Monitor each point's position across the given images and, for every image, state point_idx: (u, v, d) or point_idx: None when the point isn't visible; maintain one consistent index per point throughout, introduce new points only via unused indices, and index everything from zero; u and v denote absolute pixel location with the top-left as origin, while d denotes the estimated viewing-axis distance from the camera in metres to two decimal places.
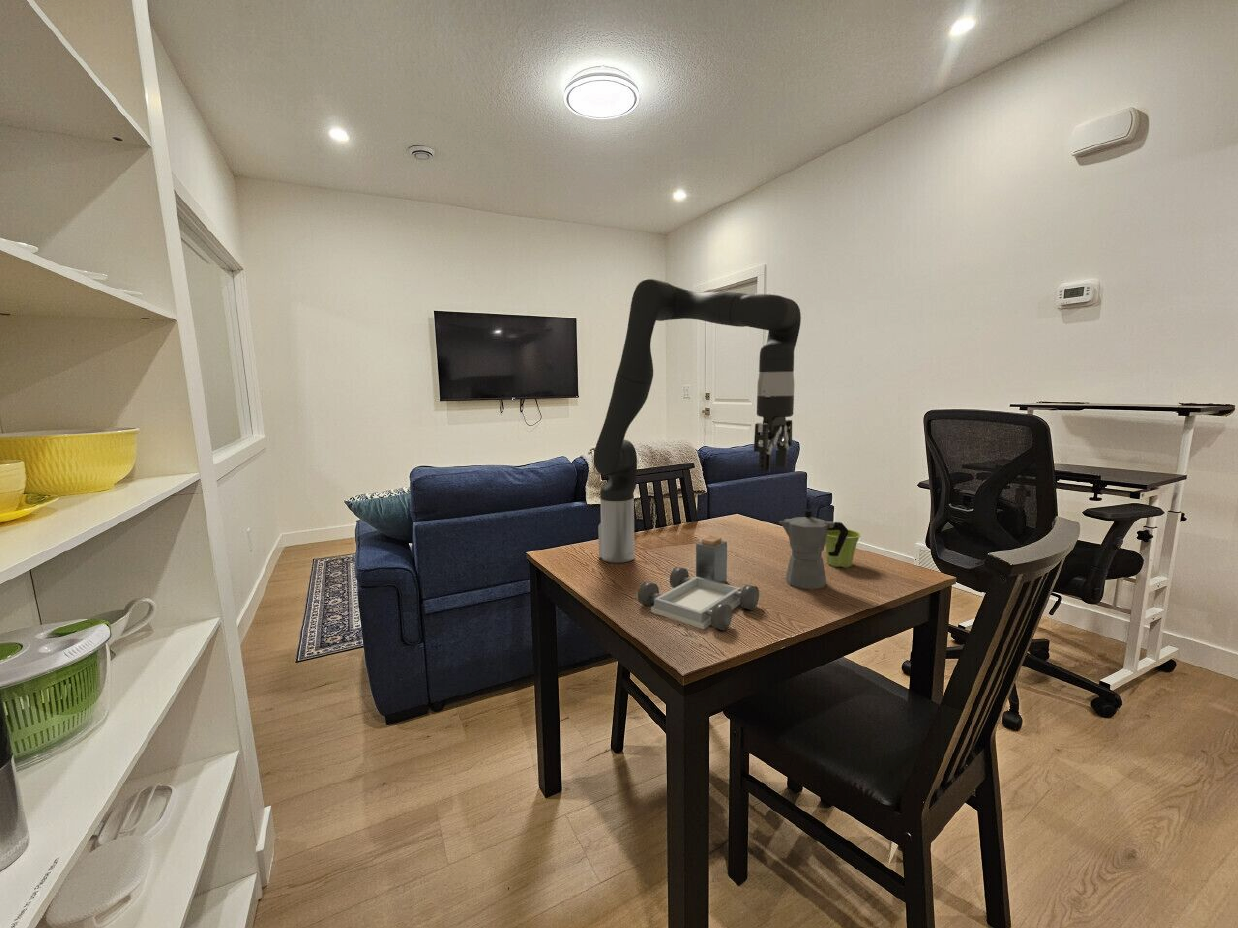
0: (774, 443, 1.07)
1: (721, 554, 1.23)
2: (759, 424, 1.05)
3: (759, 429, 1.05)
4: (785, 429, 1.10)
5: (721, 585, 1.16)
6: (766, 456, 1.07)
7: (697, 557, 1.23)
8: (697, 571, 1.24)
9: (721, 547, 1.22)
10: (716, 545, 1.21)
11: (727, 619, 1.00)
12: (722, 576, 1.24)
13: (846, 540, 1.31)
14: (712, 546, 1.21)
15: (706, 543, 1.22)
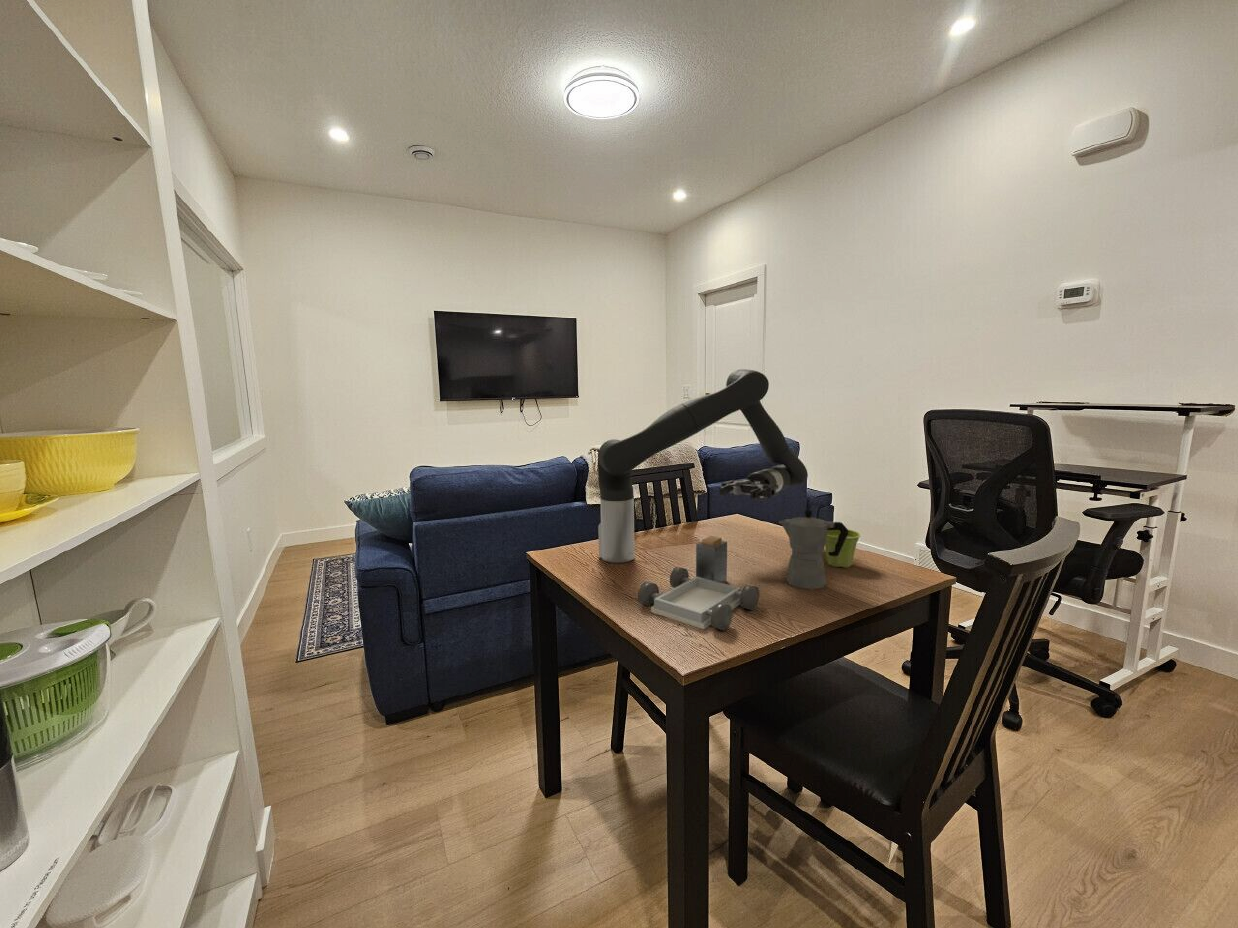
0: None
1: (721, 554, 1.23)
2: (778, 488, 1.34)
3: (777, 489, 1.33)
4: None
5: (721, 585, 1.16)
6: (760, 495, 1.30)
7: (697, 557, 1.23)
8: (697, 571, 1.24)
9: (722, 547, 1.22)
10: (716, 545, 1.21)
11: (727, 619, 1.00)
12: (722, 576, 1.24)
13: (846, 540, 1.31)
14: (712, 546, 1.21)
15: (706, 543, 1.22)
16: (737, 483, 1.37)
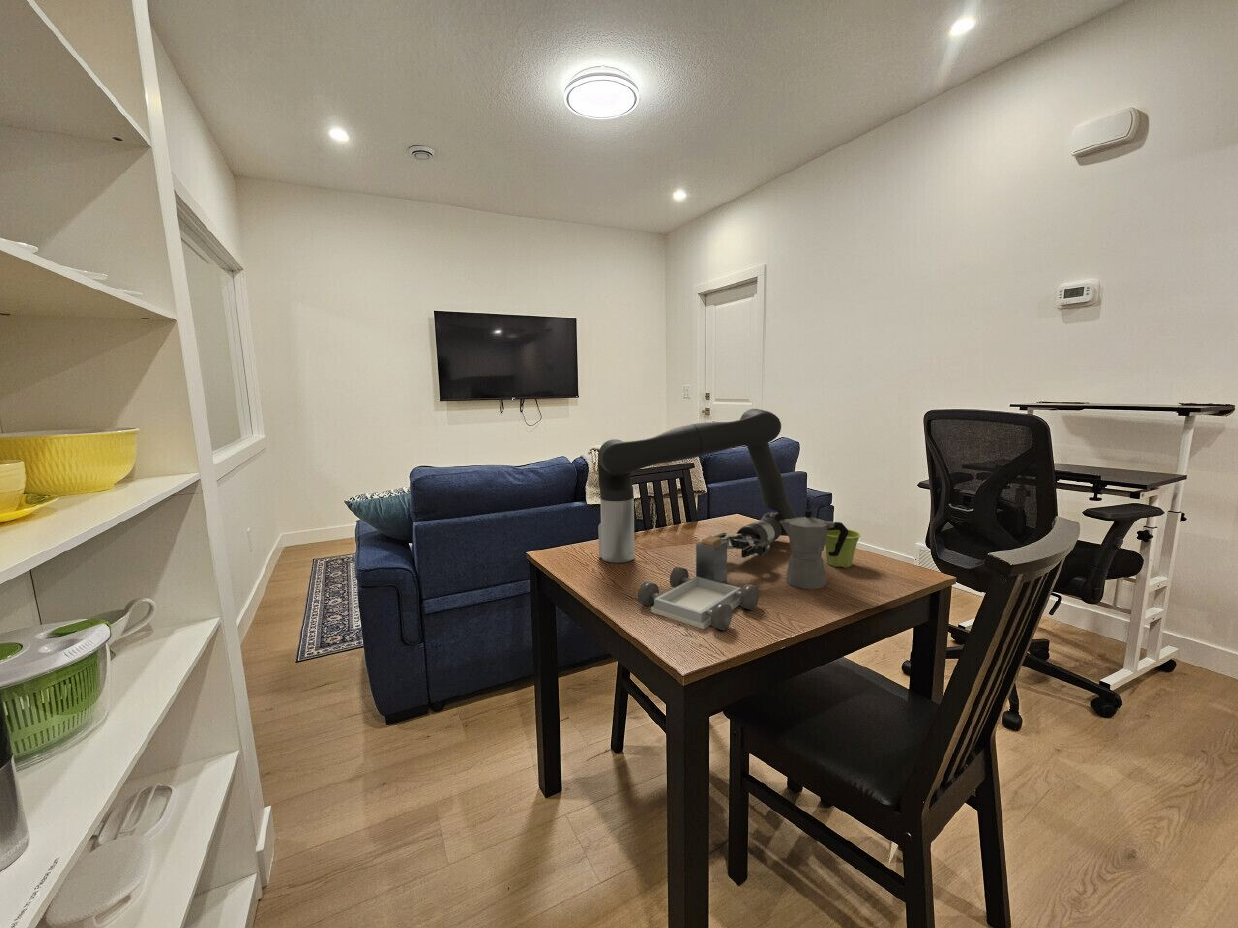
0: None
1: (721, 554, 1.23)
2: (769, 544, 1.33)
3: (768, 546, 1.33)
4: None
5: (721, 585, 1.16)
6: None
7: (697, 557, 1.23)
8: (697, 571, 1.24)
9: (722, 547, 1.22)
10: (716, 545, 1.21)
11: (727, 619, 1.00)
12: (722, 576, 1.24)
13: (846, 540, 1.31)
14: (712, 546, 1.21)
15: (706, 543, 1.22)
16: (728, 538, 1.36)
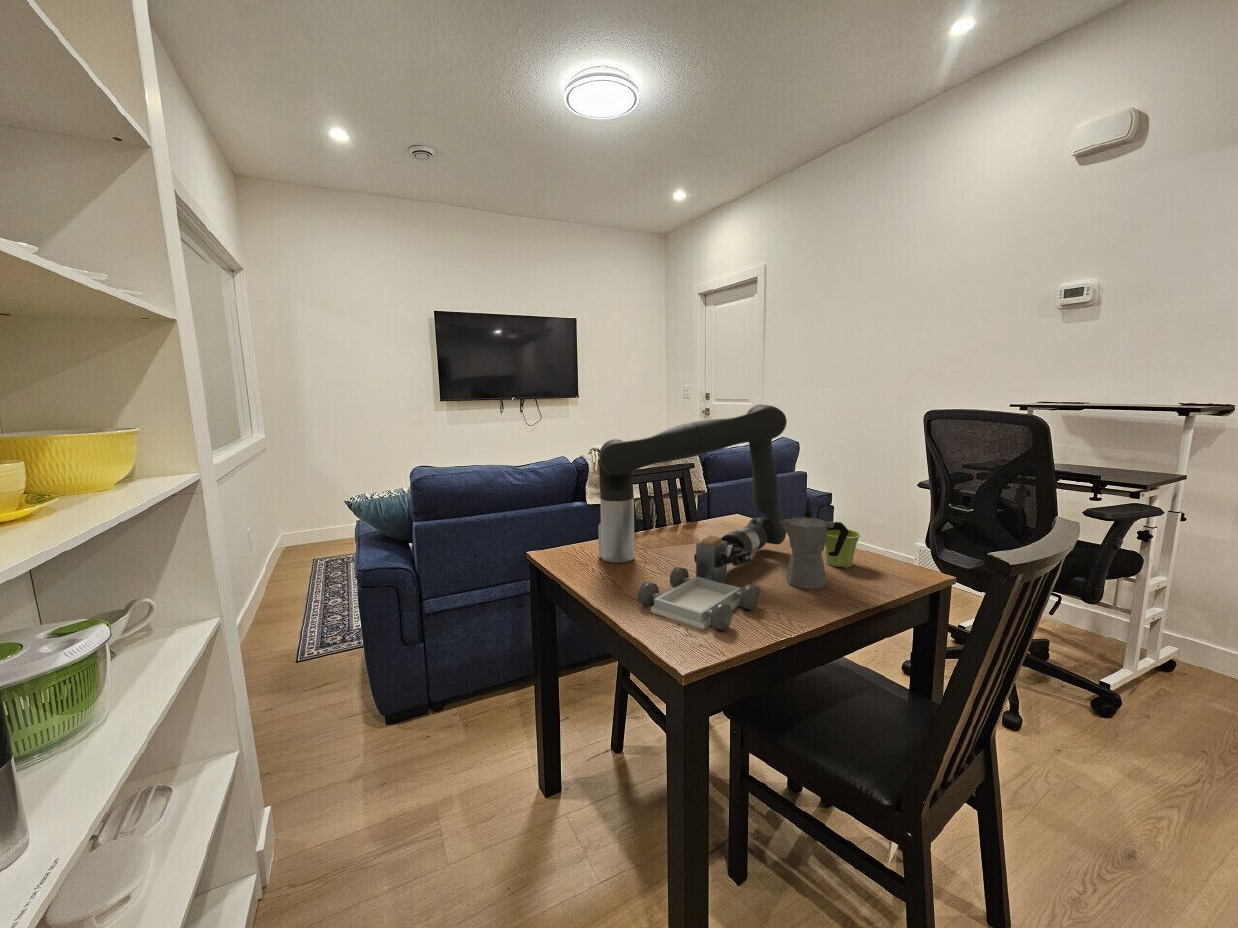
0: None
1: (721, 554, 1.23)
2: (750, 555, 1.25)
3: (748, 556, 1.25)
4: None
5: (721, 585, 1.16)
6: None
7: (697, 557, 1.23)
8: (697, 571, 1.24)
9: (722, 547, 1.22)
10: (716, 545, 1.21)
11: (727, 619, 1.00)
12: (722, 576, 1.24)
13: (846, 540, 1.31)
14: (712, 546, 1.21)
15: (706, 543, 1.22)
16: None
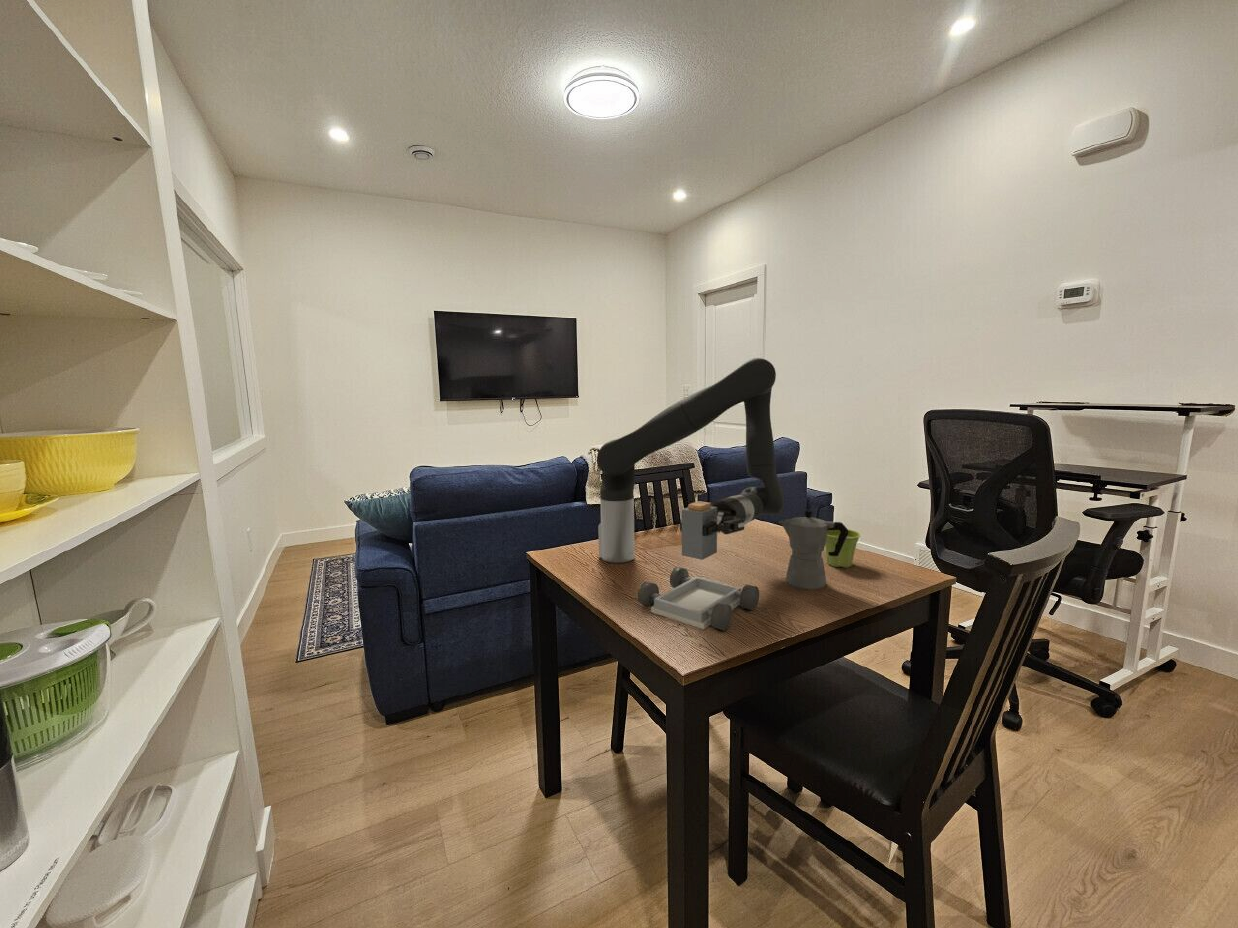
0: None
1: (710, 521, 1.07)
2: (744, 522, 1.10)
3: (741, 524, 1.09)
4: None
5: (721, 585, 1.16)
6: None
7: (683, 525, 1.08)
8: (683, 541, 1.08)
9: (711, 513, 1.07)
10: (704, 510, 1.06)
11: (727, 619, 1.00)
12: (711, 546, 1.08)
13: (846, 540, 1.31)
14: (700, 511, 1.05)
15: (693, 508, 1.07)
16: None
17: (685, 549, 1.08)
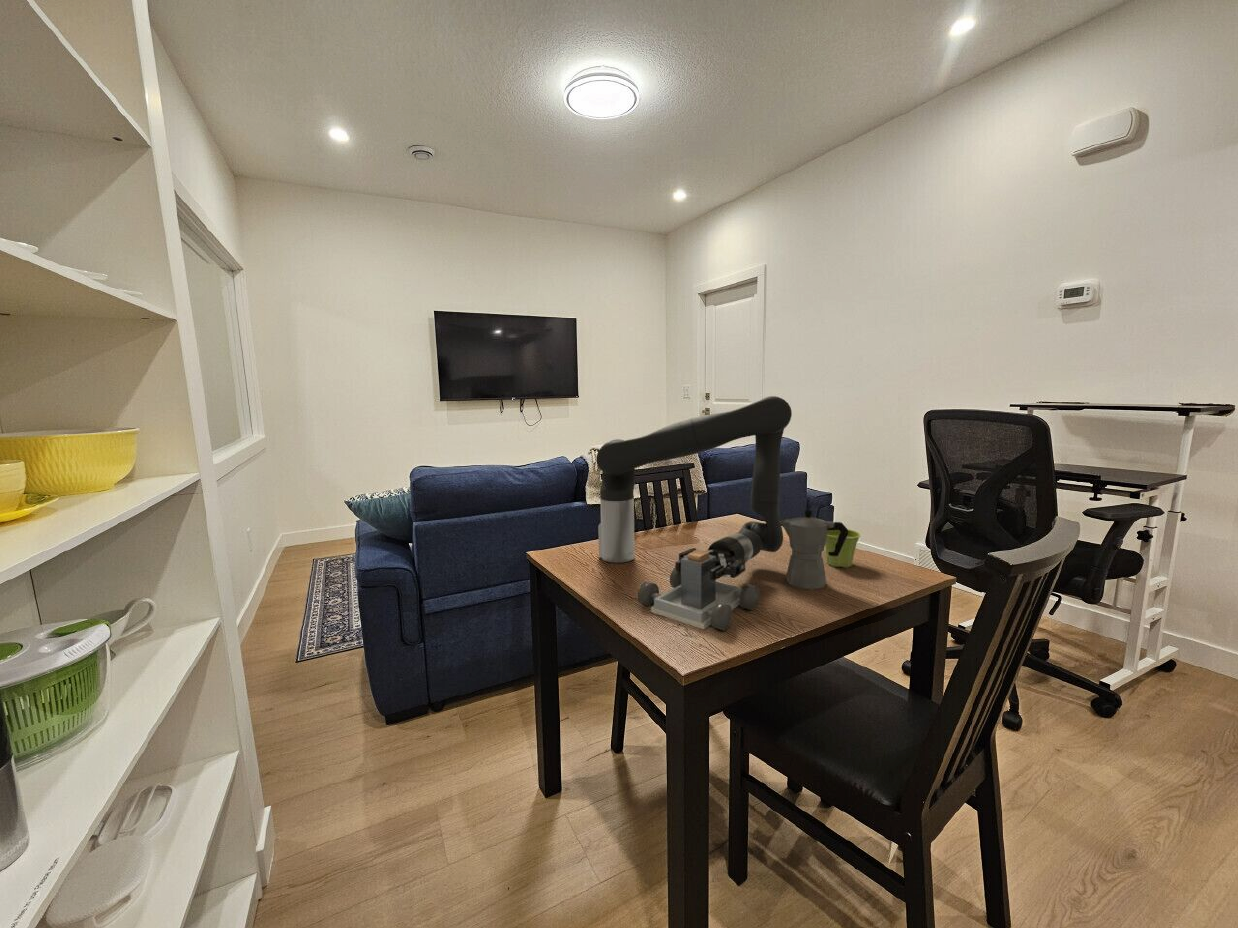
0: None
1: (709, 570, 1.09)
2: None
3: (743, 565, 1.11)
4: None
5: (721, 585, 1.16)
6: None
7: (682, 574, 1.09)
8: (682, 590, 1.10)
9: (709, 563, 1.09)
10: (703, 561, 1.08)
11: (727, 619, 1.00)
12: (710, 595, 1.10)
13: (846, 540, 1.31)
14: (699, 562, 1.07)
15: (692, 558, 1.08)
16: None
17: (684, 598, 1.10)
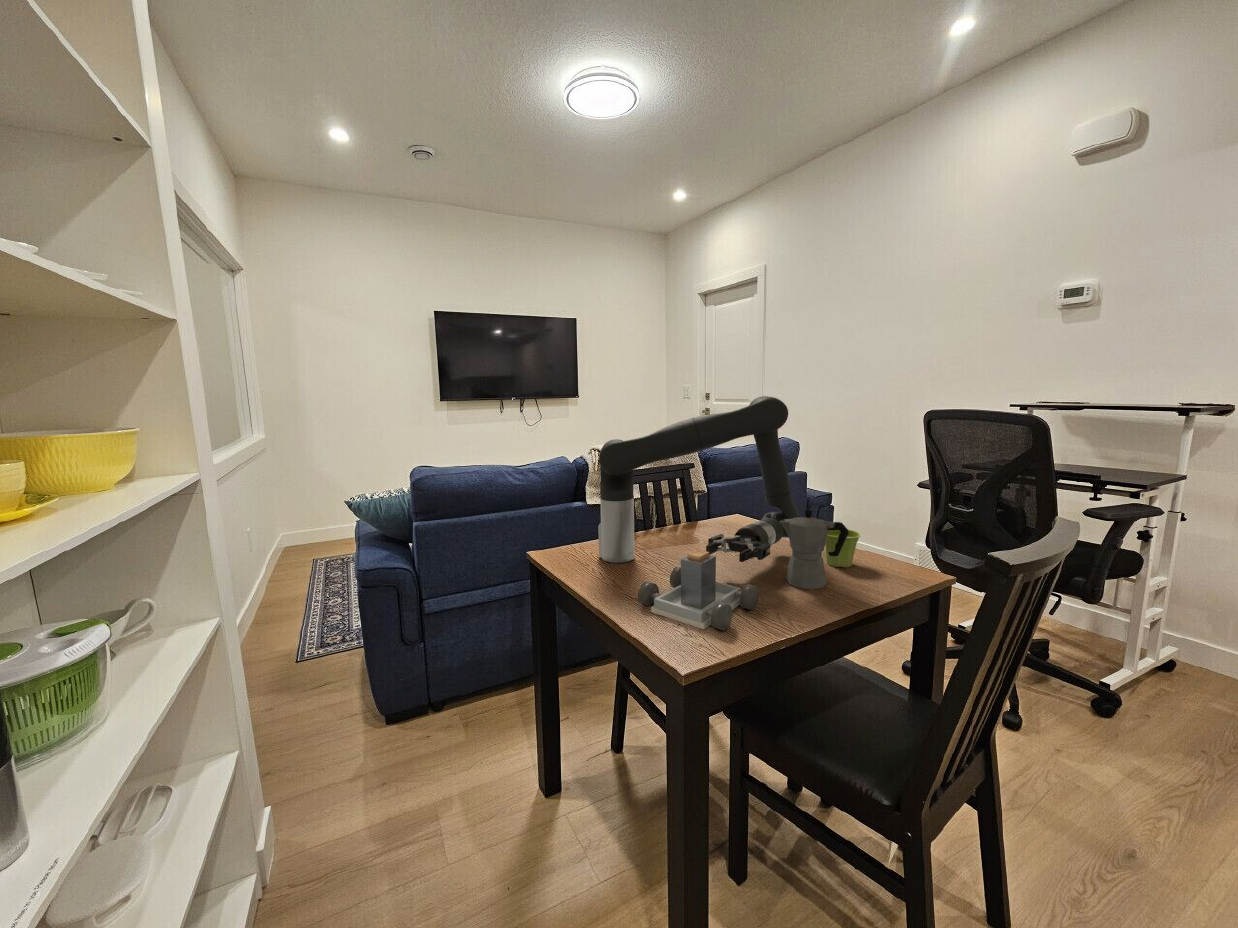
0: None
1: (709, 570, 1.09)
2: None
3: (769, 549, 1.21)
4: None
5: (721, 585, 1.16)
6: None
7: (682, 574, 1.09)
8: (682, 590, 1.10)
9: (709, 563, 1.09)
10: (703, 561, 1.08)
11: (727, 619, 1.00)
12: (710, 595, 1.10)
13: (846, 540, 1.31)
14: (699, 562, 1.07)
15: (692, 558, 1.08)
16: (725, 540, 1.25)
17: (684, 598, 1.10)
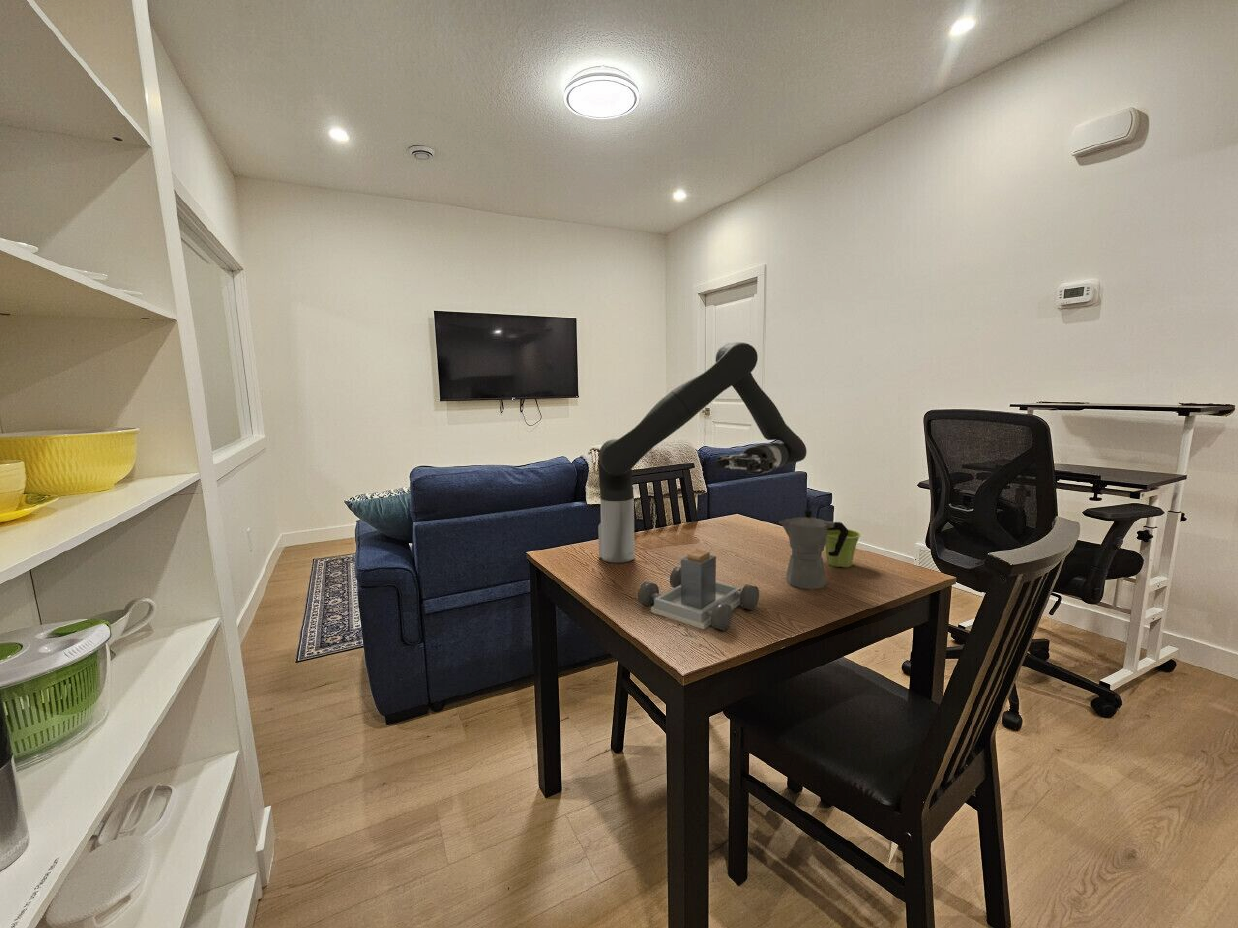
0: None
1: (709, 570, 1.09)
2: (776, 462, 1.28)
3: (775, 463, 1.27)
4: None
5: (721, 585, 1.16)
6: (758, 469, 1.24)
7: (682, 574, 1.09)
8: (682, 590, 1.10)
9: (709, 563, 1.09)
10: (703, 561, 1.08)
11: (727, 619, 1.00)
12: (710, 595, 1.10)
13: (846, 540, 1.31)
14: (699, 562, 1.07)
15: (692, 558, 1.08)
16: (733, 457, 1.30)
17: (684, 598, 1.10)
